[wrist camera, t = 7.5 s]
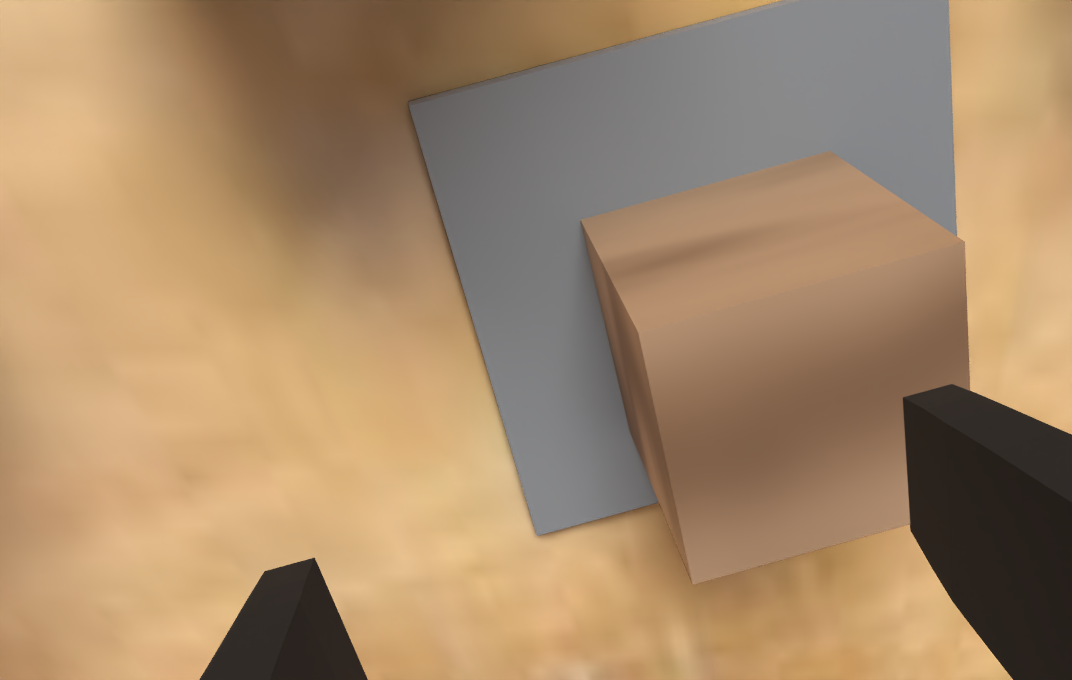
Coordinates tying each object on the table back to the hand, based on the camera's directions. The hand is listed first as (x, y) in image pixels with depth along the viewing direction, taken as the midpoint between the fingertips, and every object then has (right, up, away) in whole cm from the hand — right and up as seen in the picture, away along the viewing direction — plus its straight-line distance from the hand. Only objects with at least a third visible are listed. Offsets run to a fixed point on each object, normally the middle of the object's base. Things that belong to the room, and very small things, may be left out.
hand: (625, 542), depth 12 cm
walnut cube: (+3, +3, +10) cm, 11 cm away
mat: (+3, +4, +10) cm, 12 cm away
